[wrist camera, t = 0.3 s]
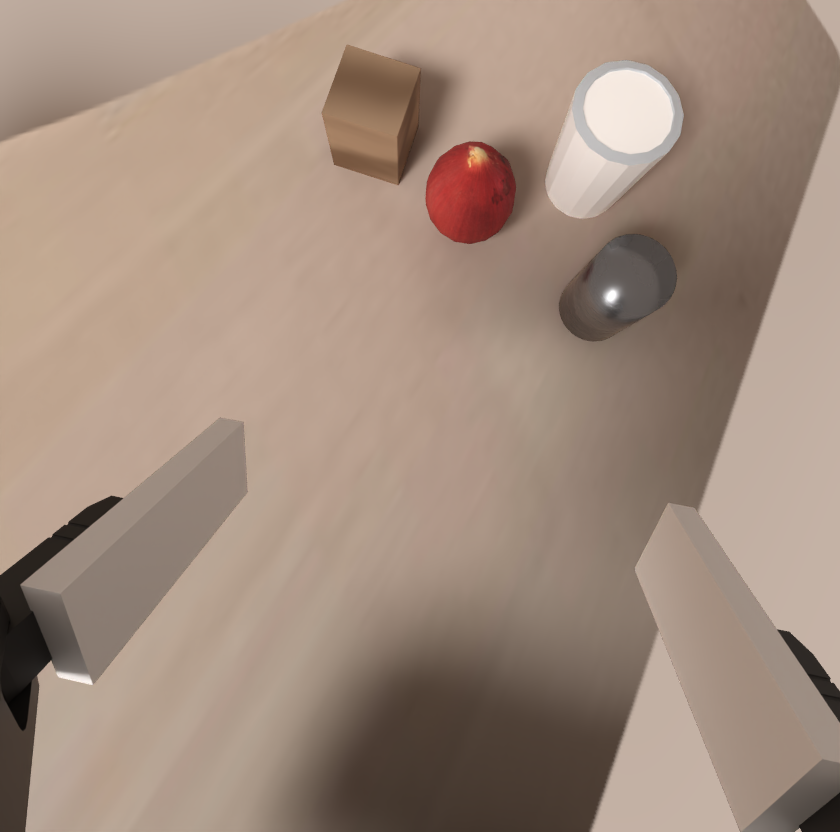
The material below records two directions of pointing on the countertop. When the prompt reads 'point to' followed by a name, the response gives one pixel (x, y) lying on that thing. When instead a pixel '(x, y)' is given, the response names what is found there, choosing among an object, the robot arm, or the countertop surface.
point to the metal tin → (618, 287)
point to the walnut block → (372, 114)
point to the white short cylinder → (612, 136)
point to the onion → (470, 192)
